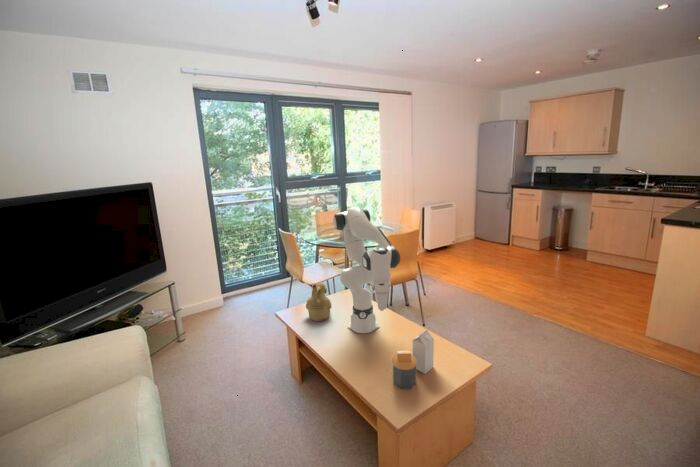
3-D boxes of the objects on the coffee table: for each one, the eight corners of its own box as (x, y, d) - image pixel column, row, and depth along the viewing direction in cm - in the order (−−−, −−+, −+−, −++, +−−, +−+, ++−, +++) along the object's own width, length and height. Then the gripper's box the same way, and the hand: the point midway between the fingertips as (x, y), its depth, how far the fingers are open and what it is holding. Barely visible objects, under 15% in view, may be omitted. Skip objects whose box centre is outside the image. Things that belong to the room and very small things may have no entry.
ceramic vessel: (334, 310, 214) (332, 275, 208) (328, 325, 195) (326, 287, 190) (310, 309, 217) (307, 275, 211) (302, 324, 198) (299, 286, 192)
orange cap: (390, 358, 146) (390, 345, 145) (414, 358, 146) (414, 344, 144) (392, 374, 136) (392, 359, 134) (418, 374, 135) (418, 359, 134)
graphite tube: (392, 374, 148) (392, 355, 145) (413, 374, 147) (413, 355, 145) (394, 389, 138) (394, 369, 136) (416, 389, 137) (416, 369, 135)
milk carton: (412, 367, 152) (412, 332, 147) (420, 361, 157) (420, 326, 152) (425, 374, 147) (425, 337, 142) (433, 367, 152) (434, 331, 147)
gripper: (373, 274, 156) (374, 300, 160) (374, 290, 137) (375, 319, 140) (386, 273, 156) (387, 299, 159) (389, 290, 136) (389, 319, 139)
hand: (381, 309), depth 149 cm, fingers closed
